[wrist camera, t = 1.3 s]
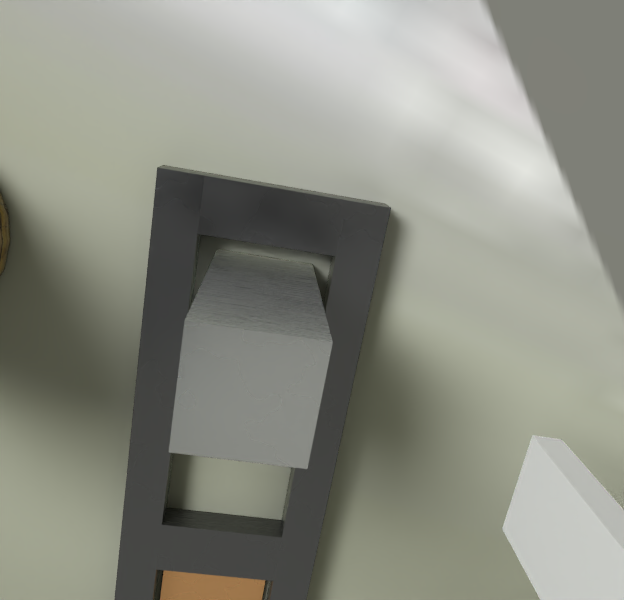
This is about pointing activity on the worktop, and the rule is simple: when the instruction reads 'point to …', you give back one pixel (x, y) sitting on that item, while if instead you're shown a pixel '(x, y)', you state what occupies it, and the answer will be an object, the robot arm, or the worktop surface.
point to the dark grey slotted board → (164, 372)
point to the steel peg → (252, 363)
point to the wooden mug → (3, 234)
